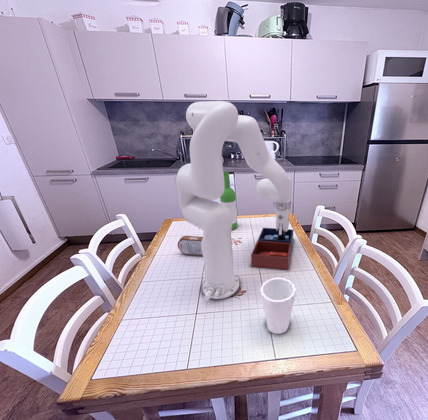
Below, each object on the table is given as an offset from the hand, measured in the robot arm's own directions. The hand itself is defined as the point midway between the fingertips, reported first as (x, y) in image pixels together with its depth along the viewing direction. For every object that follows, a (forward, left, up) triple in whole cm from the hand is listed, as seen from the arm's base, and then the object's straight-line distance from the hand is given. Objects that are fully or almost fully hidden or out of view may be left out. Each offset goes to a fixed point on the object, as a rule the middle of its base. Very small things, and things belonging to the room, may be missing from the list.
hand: (281, 241), depth 109 cm
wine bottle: (+14, +30, -2) cm, 33 cm away
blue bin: (0, +3, -2) cm, 3 cm away
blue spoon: (0, +3, 0) cm, 3 cm away
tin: (-13, +36, -2) cm, 38 cm away
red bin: (-13, +3, -2) cm, 13 cm away
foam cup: (-44, -4, -2) cm, 44 cm away
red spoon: (-12, +2, -1) cm, 13 cm away
